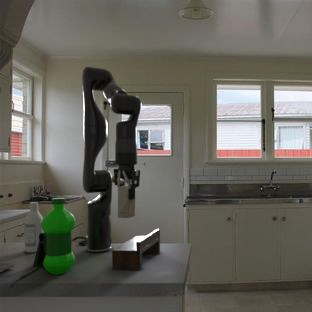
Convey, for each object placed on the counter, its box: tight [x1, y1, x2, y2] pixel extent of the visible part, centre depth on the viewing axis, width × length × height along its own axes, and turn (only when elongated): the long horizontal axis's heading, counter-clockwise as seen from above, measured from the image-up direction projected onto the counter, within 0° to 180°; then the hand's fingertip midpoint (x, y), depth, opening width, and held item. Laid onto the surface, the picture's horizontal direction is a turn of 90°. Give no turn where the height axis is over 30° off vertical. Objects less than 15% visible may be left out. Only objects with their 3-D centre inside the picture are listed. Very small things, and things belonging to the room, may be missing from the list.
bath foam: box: [24, 201, 44, 253], centre depth 152 cm, size 7×7×20 cm
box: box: [117, 184, 136, 219], centre depth 130 cm, size 5×4×11 cm
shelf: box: [111, 228, 161, 271], centre depth 137 cm, size 10×22×10 cm, turn 174°
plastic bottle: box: [42, 197, 76, 275], centre depth 124 cm, size 10×10×25 cm
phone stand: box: [32, 232, 46, 268], centre depth 132 cm, size 9×6×12 cm, turn 67°
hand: (126, 198), depth 130 cm, fingers closed on box, 6 cm apart
